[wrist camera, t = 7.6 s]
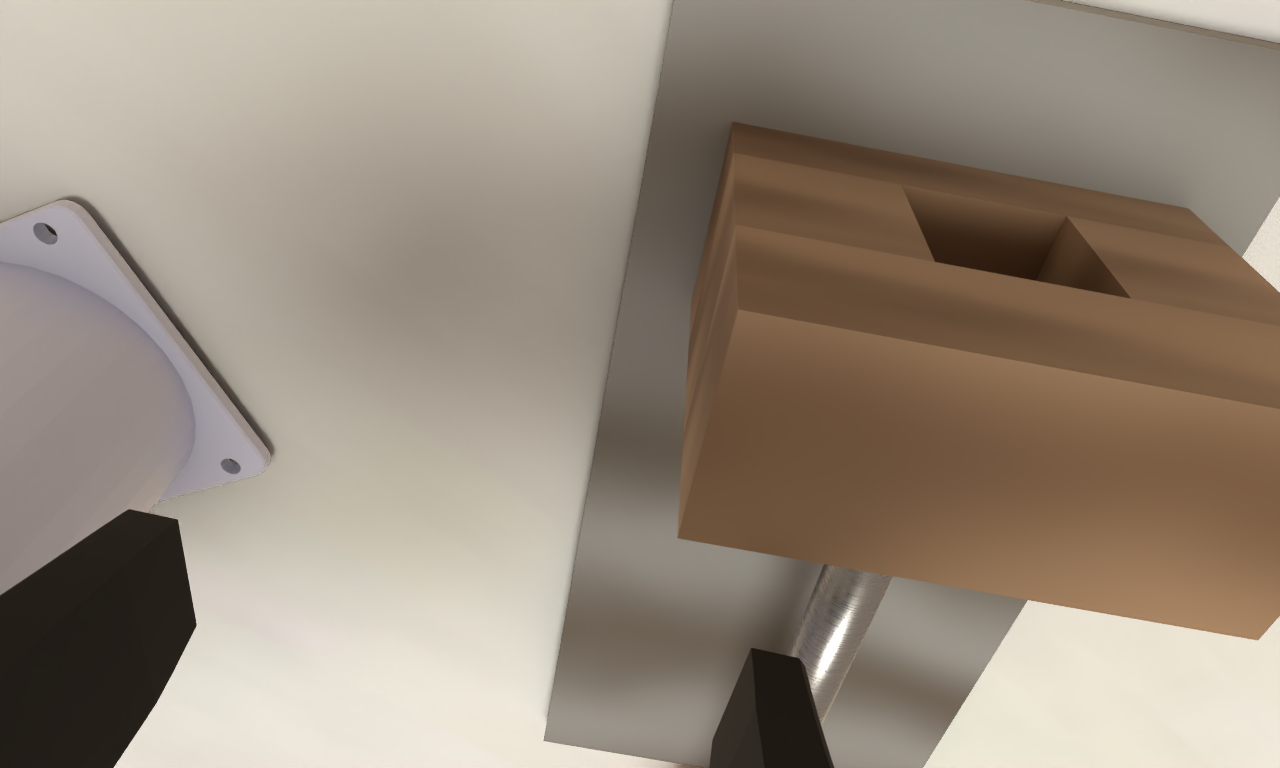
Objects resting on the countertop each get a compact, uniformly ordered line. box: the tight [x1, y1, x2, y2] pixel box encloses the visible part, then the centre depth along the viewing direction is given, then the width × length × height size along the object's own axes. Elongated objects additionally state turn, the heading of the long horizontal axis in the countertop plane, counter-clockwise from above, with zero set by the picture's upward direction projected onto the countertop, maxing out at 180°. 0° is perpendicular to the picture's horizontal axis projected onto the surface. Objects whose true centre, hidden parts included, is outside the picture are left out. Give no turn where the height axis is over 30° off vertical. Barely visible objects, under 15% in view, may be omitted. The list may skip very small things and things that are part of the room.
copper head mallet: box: [787, 564, 894, 726], centre depth 23 cm, size 18×3×5 cm, turn 171°
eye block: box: [544, 0, 1280, 768], centre depth 19 cm, size 24×12×8 cm, turn 171°
